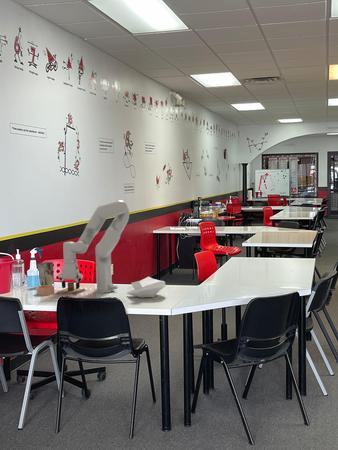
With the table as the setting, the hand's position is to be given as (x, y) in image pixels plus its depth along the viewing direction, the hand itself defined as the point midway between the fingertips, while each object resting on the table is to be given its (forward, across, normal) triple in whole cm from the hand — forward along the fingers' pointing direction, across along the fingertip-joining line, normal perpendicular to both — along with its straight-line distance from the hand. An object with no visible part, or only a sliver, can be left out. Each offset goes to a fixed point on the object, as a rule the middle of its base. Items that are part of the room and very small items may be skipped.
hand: (70, 288), depth 367 cm
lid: (+2, 0, 0) cm, 2 cm away
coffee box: (+3, +29, -19) cm, 35 cm away
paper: (+3, -52, +4) cm, 52 cm away
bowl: (+3, +13, +9) cm, 16 cm away
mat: (+3, 0, 0) cm, 3 cm away
